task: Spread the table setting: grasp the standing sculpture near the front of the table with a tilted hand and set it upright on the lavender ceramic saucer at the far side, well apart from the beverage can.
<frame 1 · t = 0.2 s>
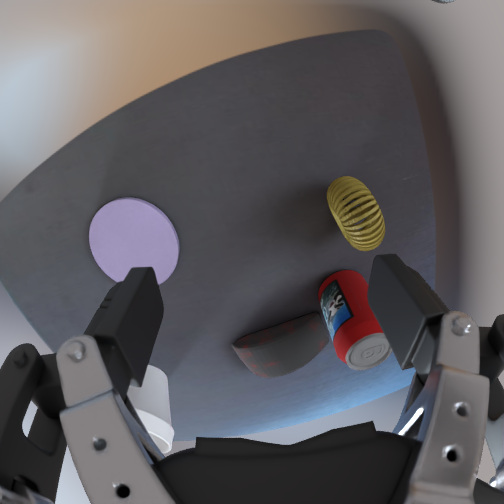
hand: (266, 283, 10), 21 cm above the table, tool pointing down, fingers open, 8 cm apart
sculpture: (342, 200, 30), on the table
saucer: (133, 243, 32), on the table
cup: (149, 374, 44), on the table
beverage can: (340, 287, 36), on the table
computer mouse: (280, 339, 40), on the table
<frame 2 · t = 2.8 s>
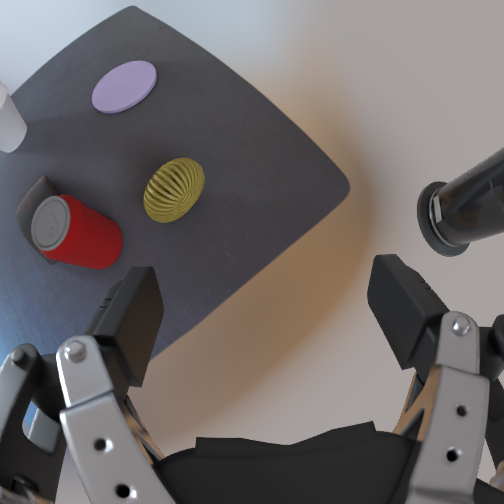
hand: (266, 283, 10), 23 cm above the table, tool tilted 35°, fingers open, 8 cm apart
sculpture: (182, 202, 34), on the table
saucer: (124, 87, 37), on the table
cup: (16, 138, 36), on the table
beverage can: (104, 244, 33), on the table
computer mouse: (49, 218, 34), on the table
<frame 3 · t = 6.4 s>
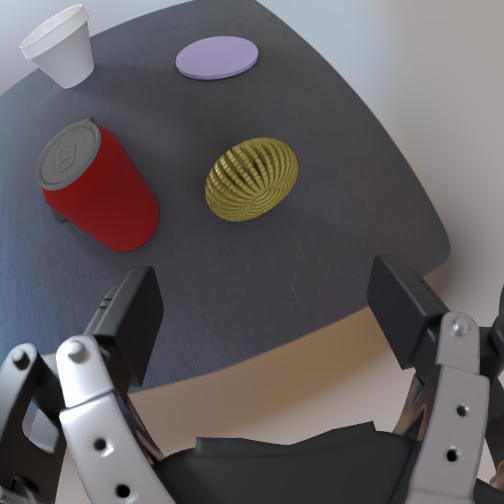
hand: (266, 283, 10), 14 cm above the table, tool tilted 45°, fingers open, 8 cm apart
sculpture: (253, 204, 26), on the table
saucer: (217, 58, 33), on the table
cup: (78, 76, 35), on the table
beverage can: (131, 222, 26), on the table
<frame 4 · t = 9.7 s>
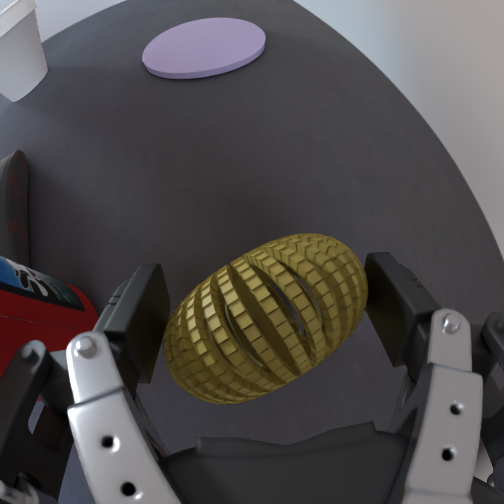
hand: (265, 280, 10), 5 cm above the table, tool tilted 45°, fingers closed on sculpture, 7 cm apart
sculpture: (263, 324, 14), on the table, touching gripper
saucer: (203, 47, 21), on the table
cup: (29, 84, 23), on the table
beverage can: (69, 338, 14), on the table
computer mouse: (6, 231, 16), on the table
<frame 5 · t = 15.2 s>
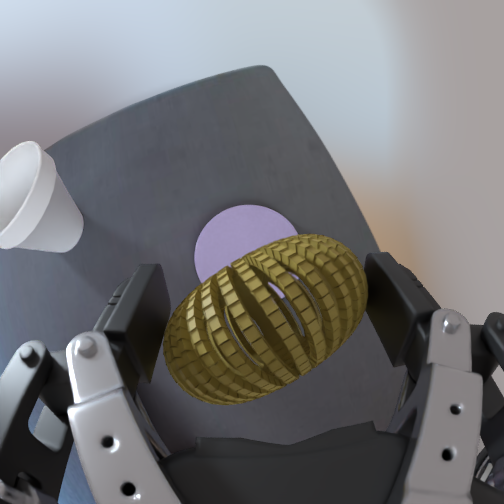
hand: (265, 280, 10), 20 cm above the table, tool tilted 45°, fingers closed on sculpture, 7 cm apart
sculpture: (263, 325, 14), point 16 cm above the table, touching gripper
saucer: (248, 256, 31), on the table
cup: (66, 230, 33), on the table
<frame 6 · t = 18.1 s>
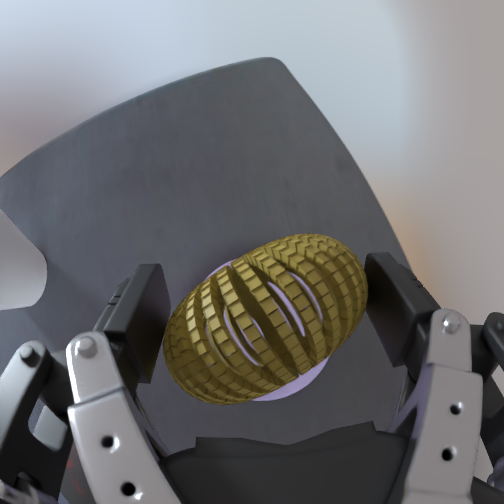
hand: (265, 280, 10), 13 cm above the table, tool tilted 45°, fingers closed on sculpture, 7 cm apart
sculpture: (263, 325, 14), point 9 cm above the table, touching gripper
saucer: (261, 328, 22), on the table
cup: (29, 277, 24), on the table
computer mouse: (106, 487, 17), on the table
when the fingers open (6 cm above the table, at t = 20.9 s): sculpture stays where it is, resting on saucer.
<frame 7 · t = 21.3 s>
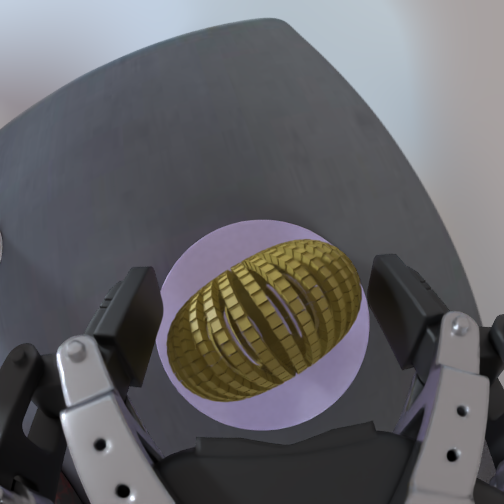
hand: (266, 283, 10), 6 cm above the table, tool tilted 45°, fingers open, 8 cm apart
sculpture: (262, 325, 15), point 1 cm above the table, touching saucer
saucer: (262, 325, 15), on the table
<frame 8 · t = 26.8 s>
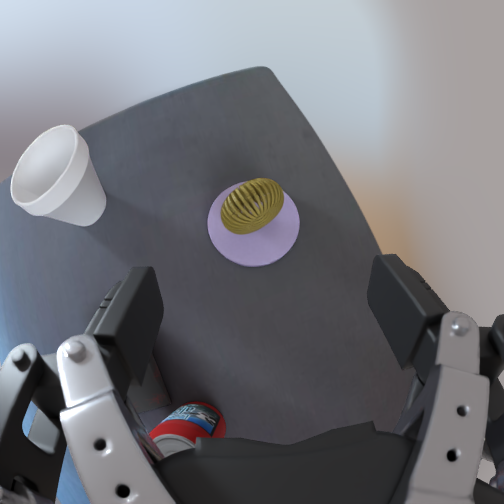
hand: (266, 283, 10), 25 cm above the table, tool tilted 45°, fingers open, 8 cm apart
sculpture: (253, 221, 36), point 1 cm above the table, touching saucer
saucer: (253, 223, 37), on the table
cup: (89, 207, 39), on the table
beverage can: (200, 423, 30), on the table
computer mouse: (132, 361, 32), on the table
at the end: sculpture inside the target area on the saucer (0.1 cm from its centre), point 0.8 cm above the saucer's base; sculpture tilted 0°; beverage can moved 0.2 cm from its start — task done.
